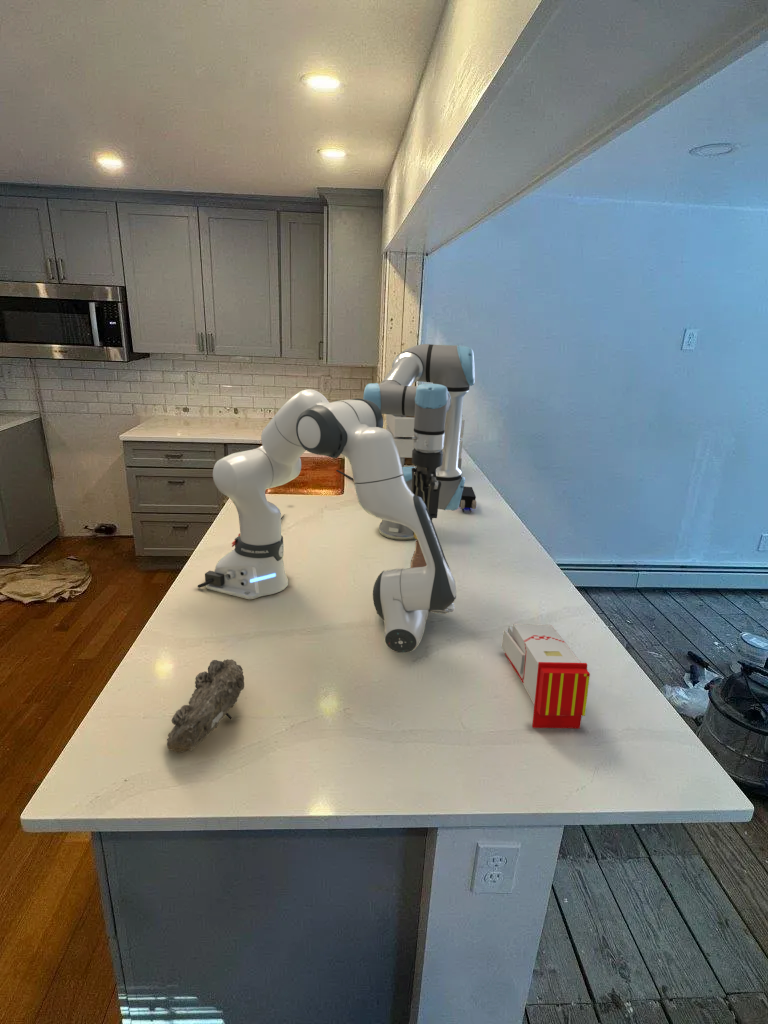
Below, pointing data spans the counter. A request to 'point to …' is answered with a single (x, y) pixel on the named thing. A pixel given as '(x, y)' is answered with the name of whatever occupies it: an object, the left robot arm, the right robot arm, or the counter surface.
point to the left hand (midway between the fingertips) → (418, 582)
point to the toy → (548, 674)
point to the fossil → (206, 705)
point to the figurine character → (467, 499)
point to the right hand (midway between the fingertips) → (421, 537)
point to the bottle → (418, 557)
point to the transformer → (409, 436)
